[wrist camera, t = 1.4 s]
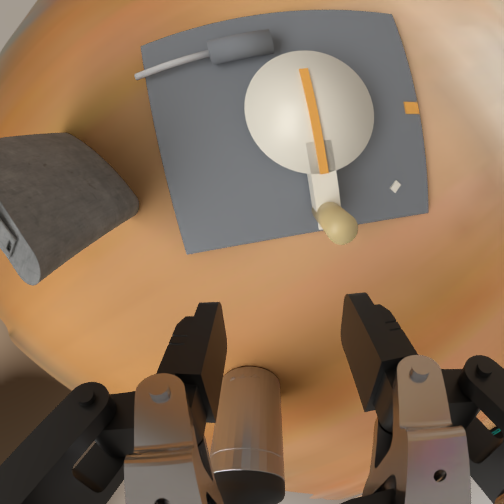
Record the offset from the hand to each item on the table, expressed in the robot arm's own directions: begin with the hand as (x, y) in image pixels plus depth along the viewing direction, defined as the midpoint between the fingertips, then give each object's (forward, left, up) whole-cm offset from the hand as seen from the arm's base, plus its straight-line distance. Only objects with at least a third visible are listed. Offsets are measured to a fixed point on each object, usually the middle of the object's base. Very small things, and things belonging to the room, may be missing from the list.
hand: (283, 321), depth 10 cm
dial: (+6, -5, -19) cm, 21 cm away
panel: (+9, -5, -21) cm, 23 cm away
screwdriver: (+17, +3, -20) cm, 27 cm away
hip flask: (+9, +19, -22) cm, 30 cm away
